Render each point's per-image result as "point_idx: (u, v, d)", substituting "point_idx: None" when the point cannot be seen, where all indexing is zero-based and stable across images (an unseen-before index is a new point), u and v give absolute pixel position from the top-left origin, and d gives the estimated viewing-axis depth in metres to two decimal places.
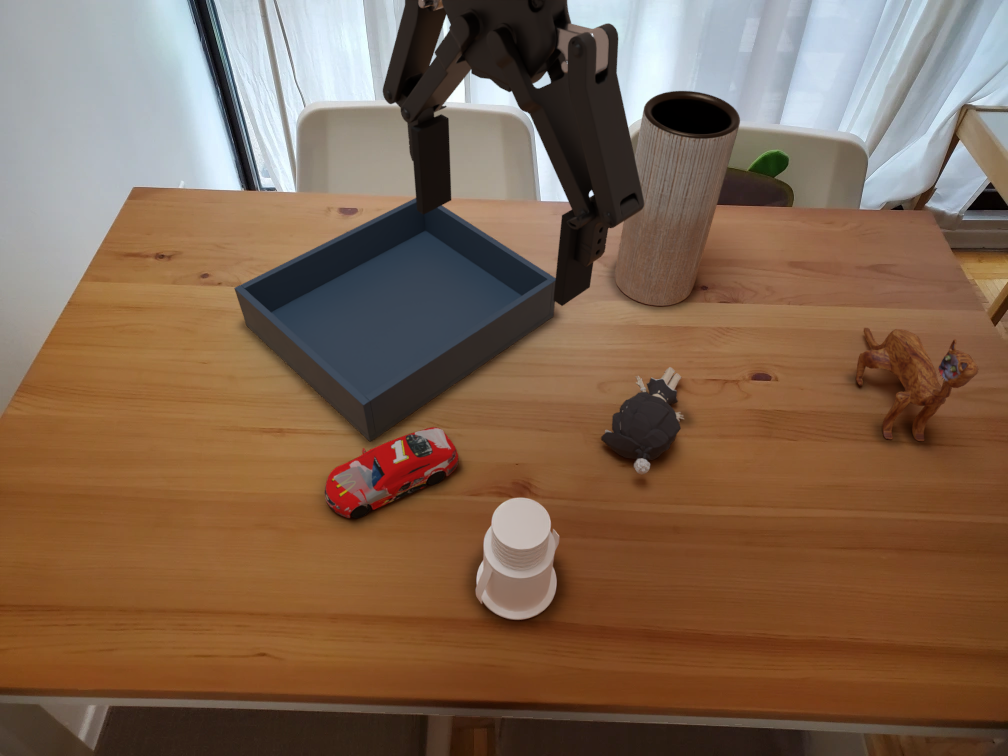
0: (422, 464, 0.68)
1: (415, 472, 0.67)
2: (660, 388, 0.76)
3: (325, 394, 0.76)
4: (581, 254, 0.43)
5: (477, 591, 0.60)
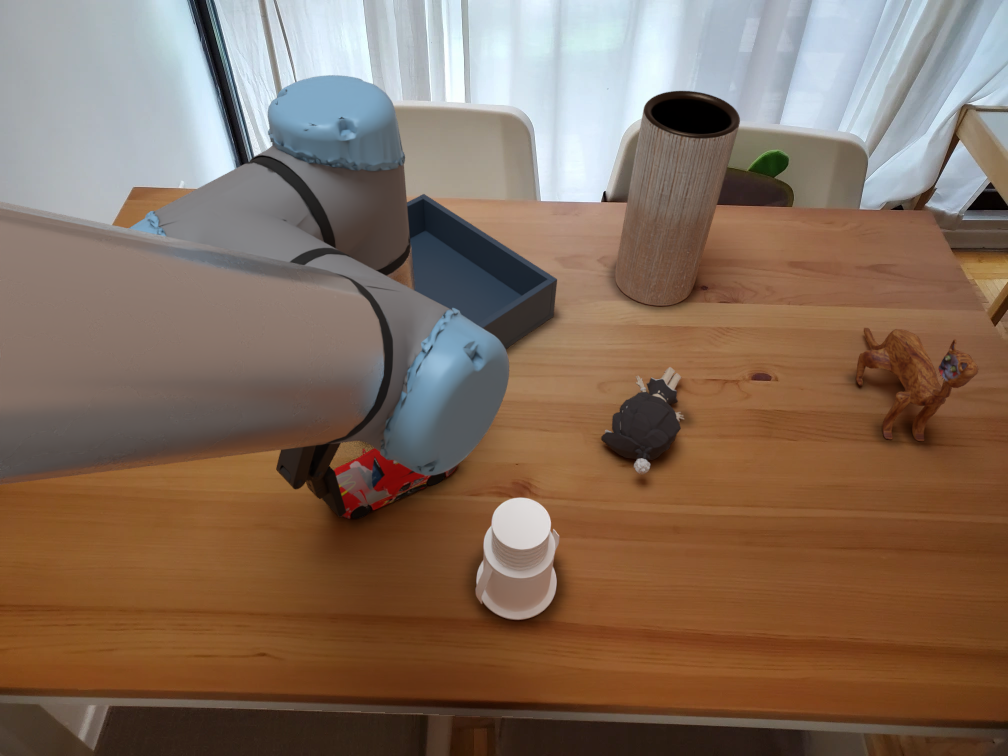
0: None
1: (415, 472, 0.67)
2: (660, 388, 0.76)
3: None
4: None
5: (477, 591, 0.60)
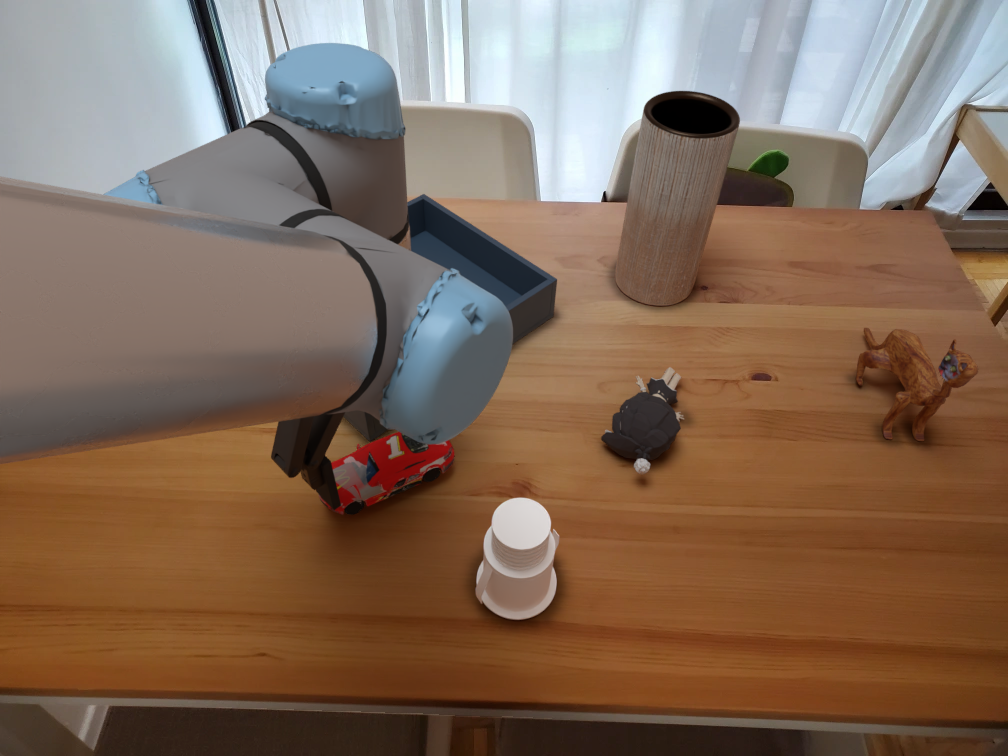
0: (418, 460, 0.66)
1: (410, 468, 0.66)
2: (660, 388, 0.76)
3: None
4: None
5: (477, 591, 0.60)
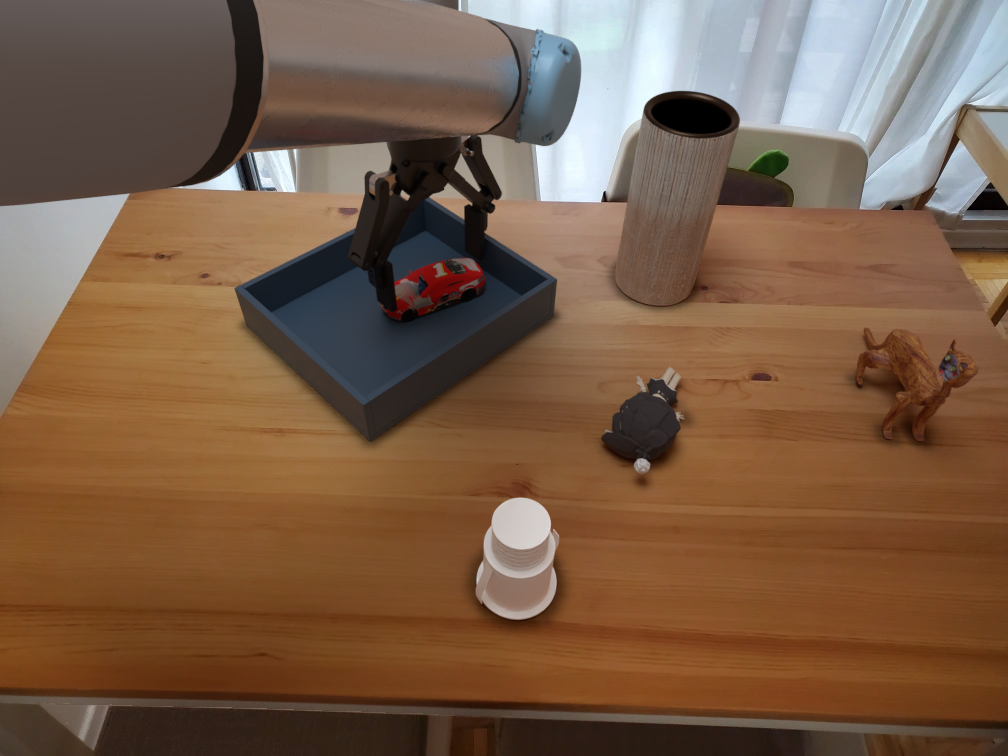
0: (458, 280, 0.85)
1: (452, 286, 0.84)
2: (660, 388, 0.76)
3: (325, 394, 0.76)
4: None
5: (477, 591, 0.60)
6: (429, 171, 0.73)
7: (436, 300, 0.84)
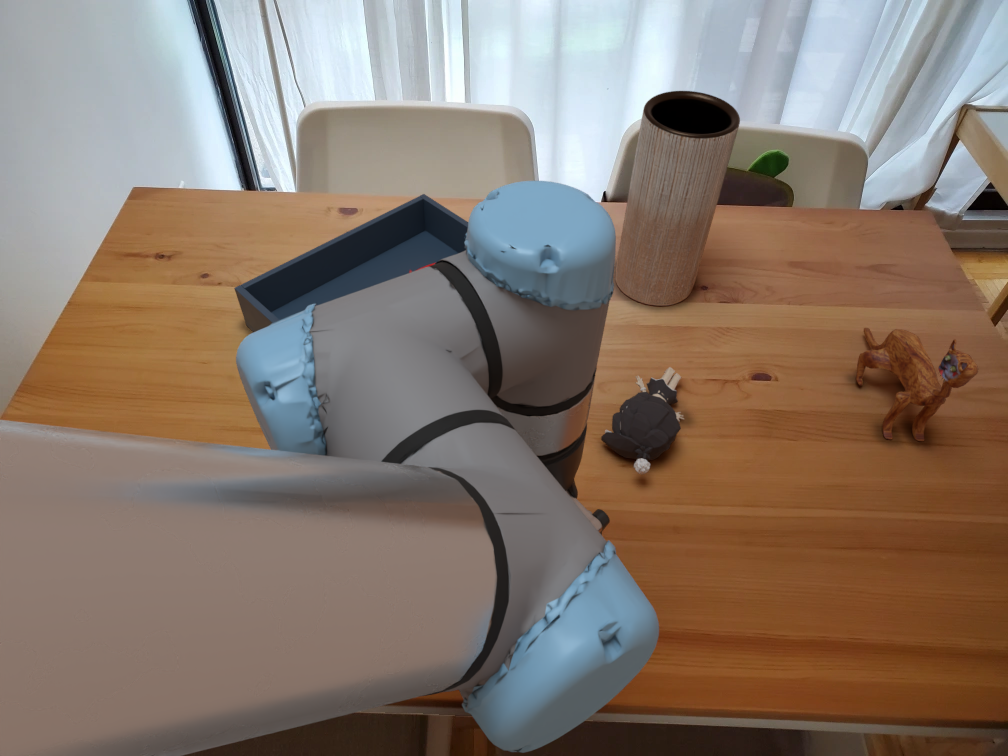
0: None
1: None
2: (660, 388, 0.76)
3: None
4: None
5: None
6: None
7: None
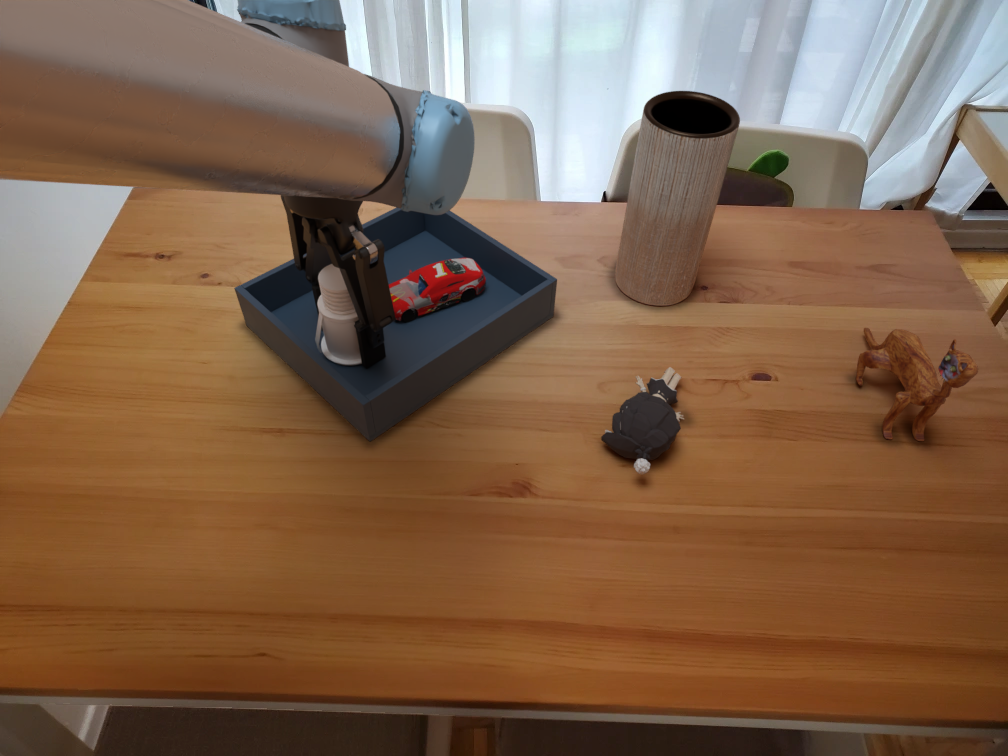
0: (458, 280, 0.85)
1: (452, 286, 0.84)
2: (660, 388, 0.76)
3: (325, 394, 0.76)
4: (369, 342, 0.76)
5: (316, 341, 0.78)
6: None
7: (436, 300, 0.84)
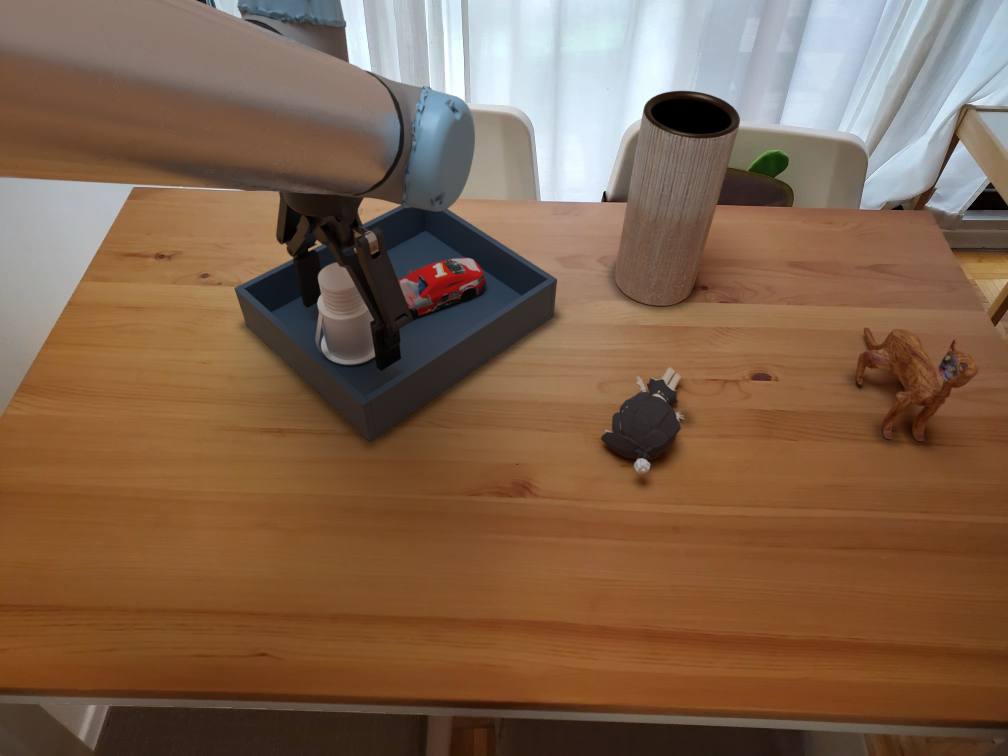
0: (458, 280, 0.85)
1: (452, 286, 0.84)
2: (660, 388, 0.76)
3: (325, 394, 0.76)
4: (385, 343, 0.73)
5: (316, 341, 0.78)
6: None
7: (436, 300, 0.84)
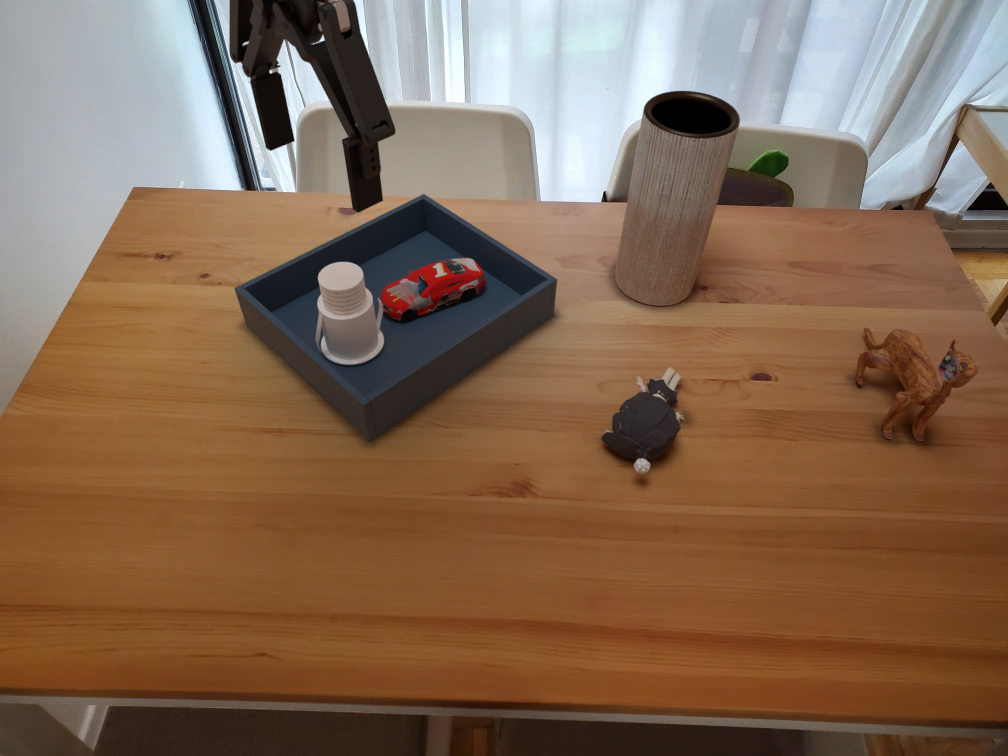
0: (458, 280, 0.85)
1: (452, 286, 0.84)
2: (660, 388, 0.76)
3: (325, 394, 0.76)
4: (362, 170, 0.58)
5: (316, 341, 0.78)
6: None
7: (436, 300, 0.84)
